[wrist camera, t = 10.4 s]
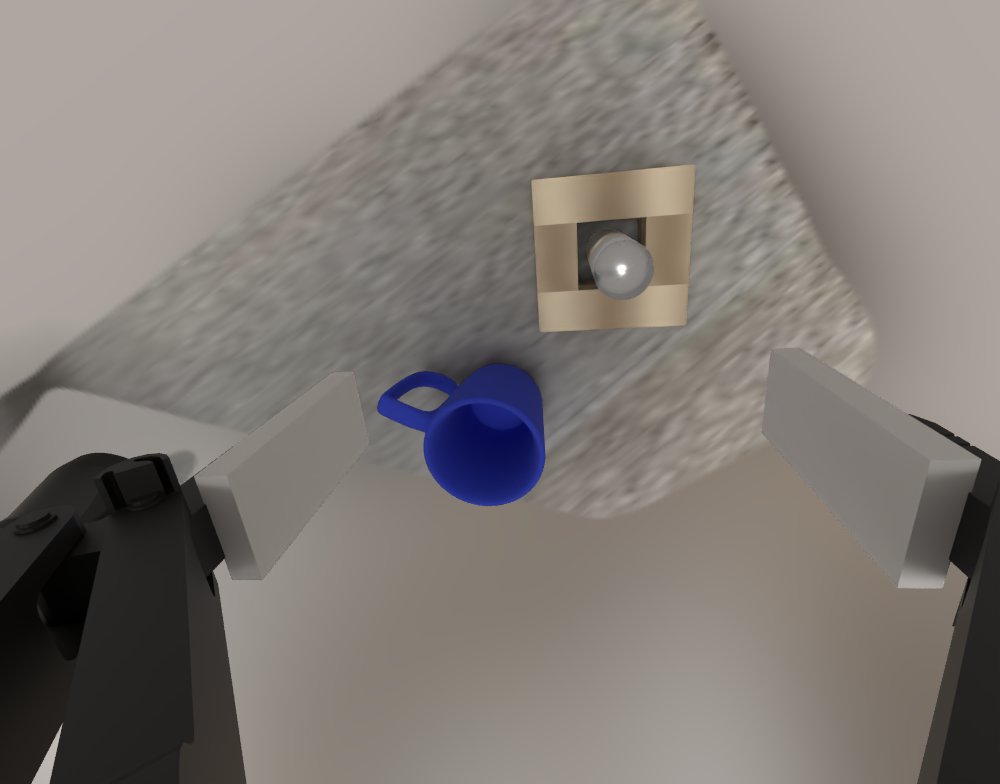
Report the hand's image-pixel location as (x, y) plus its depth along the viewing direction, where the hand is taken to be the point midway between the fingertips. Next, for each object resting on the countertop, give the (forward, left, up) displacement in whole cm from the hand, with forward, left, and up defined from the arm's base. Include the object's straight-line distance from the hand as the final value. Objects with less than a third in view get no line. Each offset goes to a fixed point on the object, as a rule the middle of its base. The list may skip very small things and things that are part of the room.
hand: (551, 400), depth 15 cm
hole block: (+3, +2, -23) cm, 24 cm away
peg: (+3, +2, -23) cm, 24 cm away
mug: (-7, -8, -23) cm, 26 cm away
